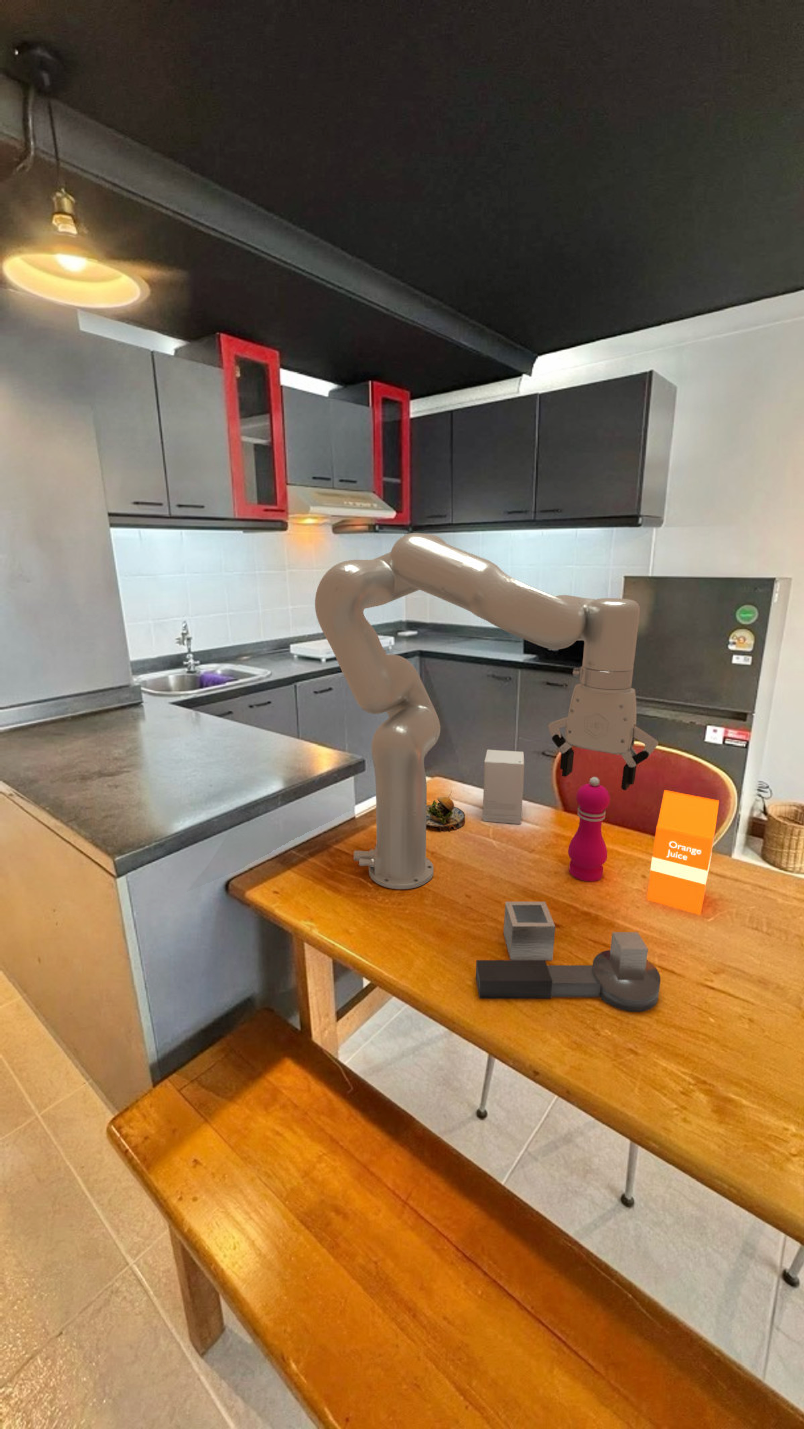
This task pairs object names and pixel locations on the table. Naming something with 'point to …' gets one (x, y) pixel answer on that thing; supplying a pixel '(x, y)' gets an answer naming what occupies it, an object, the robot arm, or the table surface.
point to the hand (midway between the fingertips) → (595, 780)
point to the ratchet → (578, 977)
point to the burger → (444, 815)
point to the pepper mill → (589, 833)
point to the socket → (529, 931)
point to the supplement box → (503, 786)
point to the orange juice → (682, 851)
